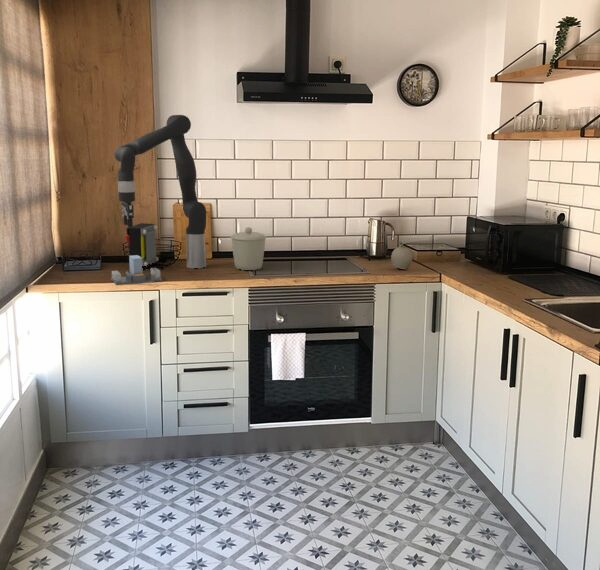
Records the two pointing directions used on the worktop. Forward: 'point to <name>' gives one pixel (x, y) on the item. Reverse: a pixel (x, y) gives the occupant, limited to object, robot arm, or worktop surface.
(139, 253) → the electrical component
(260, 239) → the canister
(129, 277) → the rack
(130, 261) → the pale blue upright block
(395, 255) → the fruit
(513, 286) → the worktop surface
